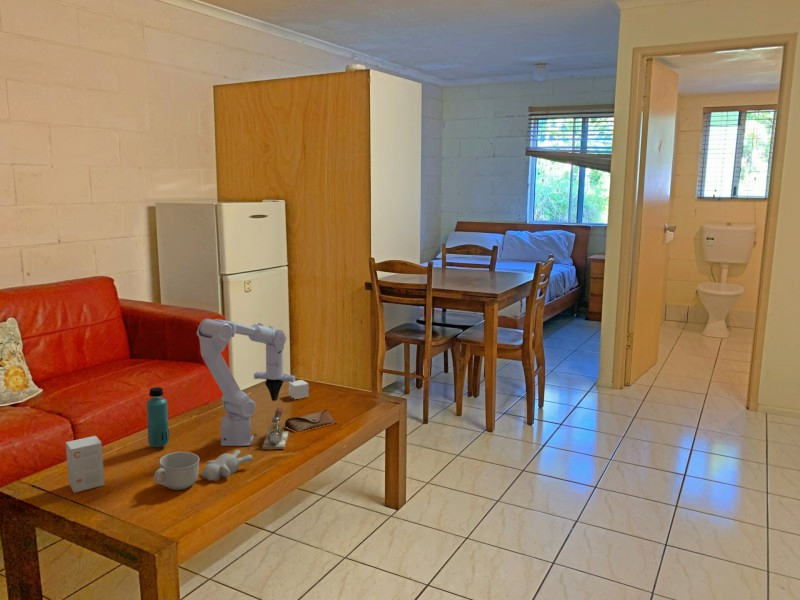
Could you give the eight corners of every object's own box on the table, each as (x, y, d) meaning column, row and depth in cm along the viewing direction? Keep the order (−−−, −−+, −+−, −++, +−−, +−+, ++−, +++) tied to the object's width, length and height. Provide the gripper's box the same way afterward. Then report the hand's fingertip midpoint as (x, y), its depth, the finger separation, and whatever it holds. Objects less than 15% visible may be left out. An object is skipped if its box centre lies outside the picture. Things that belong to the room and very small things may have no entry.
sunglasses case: (297, 434, 219) (292, 416, 221) (288, 439, 224) (283, 420, 226) (339, 423, 231) (334, 405, 232) (330, 427, 236) (325, 410, 238)
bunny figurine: (194, 464, 186) (234, 442, 198) (196, 479, 188) (235, 457, 199) (215, 473, 181) (255, 450, 192) (217, 489, 182) (256, 465, 194)
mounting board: (284, 449, 207) (284, 446, 207) (262, 449, 207) (262, 446, 207) (288, 434, 220) (288, 431, 220) (268, 433, 220) (268, 431, 219)
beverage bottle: (162, 452, 203) (160, 392, 199) (143, 450, 204) (140, 390, 200) (173, 444, 209) (171, 386, 205) (155, 442, 210) (152, 384, 206)
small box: (98, 477, 185) (96, 435, 183) (104, 485, 180) (102, 442, 178) (68, 484, 180) (65, 441, 178) (73, 493, 175) (70, 449, 173)
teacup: (186, 472, 189) (185, 447, 188) (207, 484, 183) (207, 458, 181) (142, 489, 179) (141, 462, 177) (163, 502, 172) (162, 474, 170)
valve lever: (278, 423, 211) (278, 418, 211) (271, 423, 211) (271, 418, 211) (283, 412, 221) (283, 407, 221) (276, 412, 221) (276, 407, 221)
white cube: (302, 393, 262) (302, 379, 261) (308, 398, 257) (308, 383, 256) (288, 396, 258) (288, 381, 257) (295, 400, 254) (295, 386, 253)
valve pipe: (280, 446, 208) (280, 431, 207) (266, 446, 208) (266, 431, 207) (284, 433, 219) (284, 418, 218) (271, 433, 219) (271, 418, 218)
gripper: (298, 361, 223) (298, 398, 226) (259, 357, 226) (260, 394, 228) (290, 366, 216) (291, 404, 219) (251, 363, 219) (251, 400, 222)
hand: (274, 399), depth 223 cm, fingers closed
